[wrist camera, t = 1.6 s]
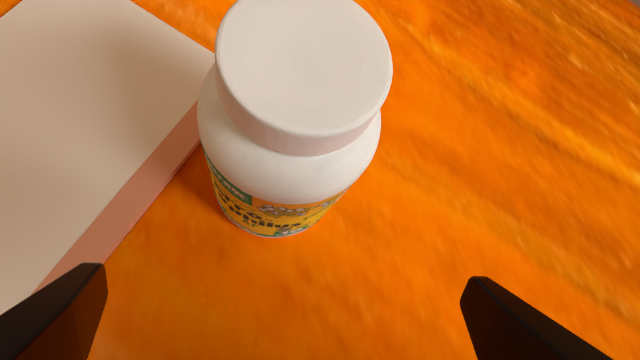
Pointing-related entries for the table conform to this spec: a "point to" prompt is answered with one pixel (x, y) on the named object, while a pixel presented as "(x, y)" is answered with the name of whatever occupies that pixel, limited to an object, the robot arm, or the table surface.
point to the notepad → (87, 130)
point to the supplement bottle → (291, 109)
